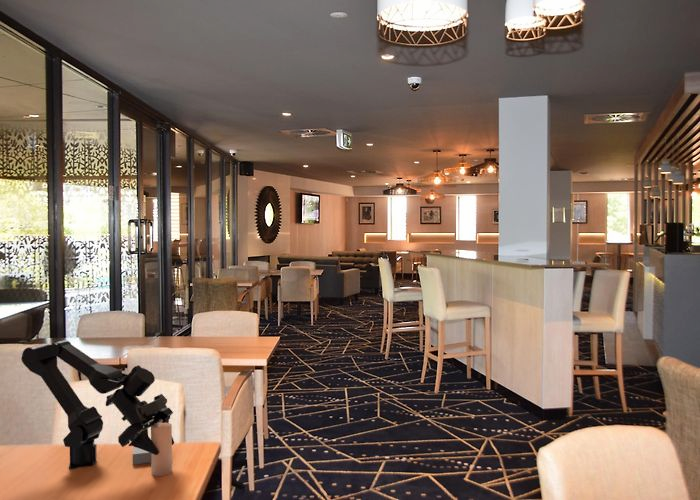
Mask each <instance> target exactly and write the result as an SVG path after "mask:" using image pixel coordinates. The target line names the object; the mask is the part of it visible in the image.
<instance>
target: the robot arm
mask: <svg viewBox="0 0 700 500" xmlns="http://www.w3.org/2000/svg"><path fill="white" fill-rule="evenodd" d="M21 354H22V355H21V362H22V363H23V365H24V366H25V368H27V369H28V370H29V372H31V373H33V374H35V375H36V376H39V377H40V378H41V379H42V380H43V382H44V383H45V385H46V386H47V388H48V389H49V391H50V392H51V394H52V395H53V396H54V398H55V399H56V401H57V403H58V404H59V405H60V407H61V409H62V410H63V411H64V413H65V414H66V415H67V427H68V430H69V432H68V434H66V436H65V437H64V438H63V440H62V441H63V445H64V447H65V448H66V447H67V448H69V464H68V469H74V468H85V467H92V466H94V465H95V462H96V461H97V458H98V457H97V455H98V453H97V450H98V449H97V443H96V444H95V440H96V439H99V437H100V434H101V432H102V431H103V428H104V427H103V426H104V421H103V419H102V418H103V416H102V415H101V414H100V413H99V412H98V410H97V408H96V407H95V405H93V406H91V407H87V406H86V405H84V404H83V401H81V399H80V397H78V395H77V394H76V392H75V390H74V389H73V388H72V386H71V384H70V383H69V382H68V380H67V379H66V377H65V376H64V375H63V373H62V372H61V370H60V369H59V367H58V359H60V360H61V361H63V362H64V363H66V364H67V365H68V366H69V367H71V368H73V369H75V371H77V372H79V373H81V374H82V375H83V376H84V377H86V378H87V379H88V381H89V384H90V385H91V387H93V389H95V391H97V392H98V393H99V394H101V395H104V394H108V393H110V392H112V391H114V392H113V393H112V394H109V395H107V396H106V401H105V407H109V406H111V405H114V406H115V408H116V409H117V410H118V411H119V412H120V413H121V415H122V417H121V421H123V422H126V421H127V422H128V423H129V426H126V428H125V429H124V431H122V432H121V434H119V436H118V437H117V438H118V443H119V444H120V446H121V447H122V448H124V447H126V446H127V445H128V446H129V447H133V448H134V447H137V448H140V449H142V450H145V451H147V452H150V453H152V454H154V455H158V454H159V451H158V449H157V447H156V446H155V445H154V443H153V442H152V440H151V437H149V431H148V430H149V428H151V426H152V425H154V424H157V423H170V419H171V417H172V415H173V414H174V411H173V410H172V409H171V408H170V407H167V403H168V399H167V398H166V397H165V396H164V395H163V393H160V394H158V395H156V396H154V397H153V401H151V402H149V403H148V402H147V401H146V400H142V401H141V400H140V399H139V398H138V397H141V396H142V395H143V394H144V393H145V392H146V391H147V390H148V389H149V388H150V387H151V386H152V384H154V382H155V381H156V380H155V379H156V378H155V375H154V374H153V373H152V371H150V370H149V369H147V368H144V367H141V366H140V365H136V366H134V367H132V369H131V370H130V372H129V373H124V372H122V370H120V369H117V368H115V367H114V366H111V365H107V364H102V363H100V362H98V361H96V360H95V359H94V358H92V357H91V356H89V355H87V354H86V353H84V352H83V351H82V350H80V349H79V348H77V347H75V346H74V345H73V344H72V343H71V342H70V341H69V340H65V339H64V340H60V341H55V342H53V343H52V344H49V343H42V344H38V345H33V346H29V347H26V348H24V350H23V351H22V353H21ZM174 444H175V441H174V438H173V436H172V446H173V445H174Z"/></svg>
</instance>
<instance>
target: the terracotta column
mask: <svg viewBox="0 0 700 500" xmlns="http://www.w3.org/2000/svg"><path fill="white" fill-rule="evenodd" d="M172 429H173V427H172V423H170V422H169V423H157V424H154V425H152V426H151V427H150V439H151V440H152V442H153V443H154V445H155V446H156V447H157V449H158V451H159V454H158V455H154V454H152V453H151V463H150V464H151V465H150V466H151V467H150V471H151V472H150V473H151V476H153V477H163V476H167V475H170V474H171V473H173V445H172V437H173V432H172Z"/></svg>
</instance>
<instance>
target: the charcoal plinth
mask: <svg viewBox="0 0 700 500" xmlns="http://www.w3.org/2000/svg"><path fill="white" fill-rule="evenodd" d="M149 463H150V464H151V453H150V452H147V451H145V450H142V449H140V448H137V447H134V446H133V449H132V465H140V464H149Z"/></svg>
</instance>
